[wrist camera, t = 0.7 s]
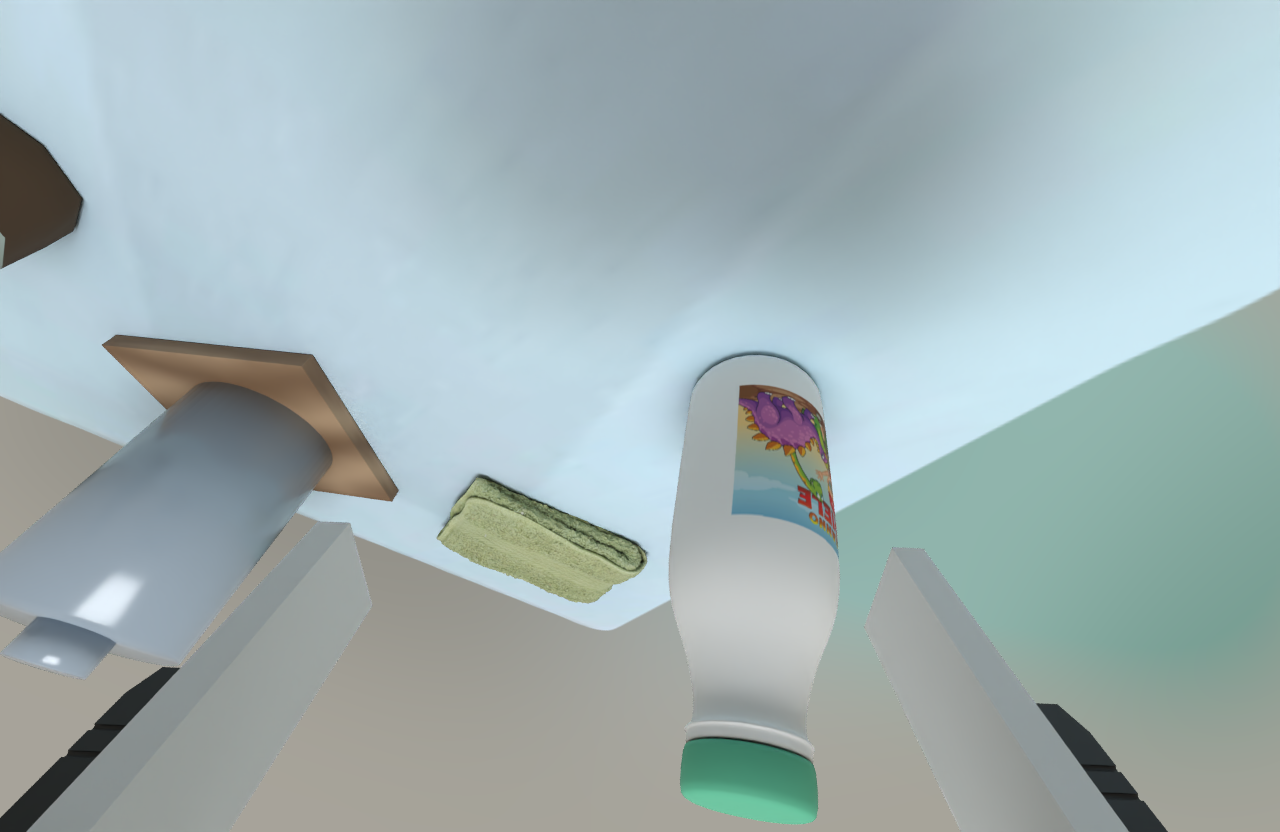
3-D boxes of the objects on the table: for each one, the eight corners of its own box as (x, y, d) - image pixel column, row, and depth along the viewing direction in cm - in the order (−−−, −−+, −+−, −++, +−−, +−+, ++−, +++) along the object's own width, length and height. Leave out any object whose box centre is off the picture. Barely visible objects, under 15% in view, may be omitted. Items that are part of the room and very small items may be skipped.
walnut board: (116, 334, 36) (101, 344, 35) (312, 355, 34) (301, 366, 33) (246, 469, 48) (237, 479, 47) (398, 490, 46) (391, 501, 45)
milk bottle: (730, 454, 34) (709, 823, 21) (666, 381, 30) (587, 775, 17) (842, 419, 30) (907, 850, 16) (784, 328, 26) (808, 794, 13)
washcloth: (475, 463, 41) (459, 495, 39) (656, 544, 46) (650, 577, 43) (442, 524, 50) (427, 553, 48) (595, 587, 55) (588, 616, 52)
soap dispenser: (156, 374, 37) (-146, 611, 25) (288, 389, 35) (36, 649, 23) (244, 466, 45) (48, 679, 33) (354, 481, 43) (193, 711, 31)
